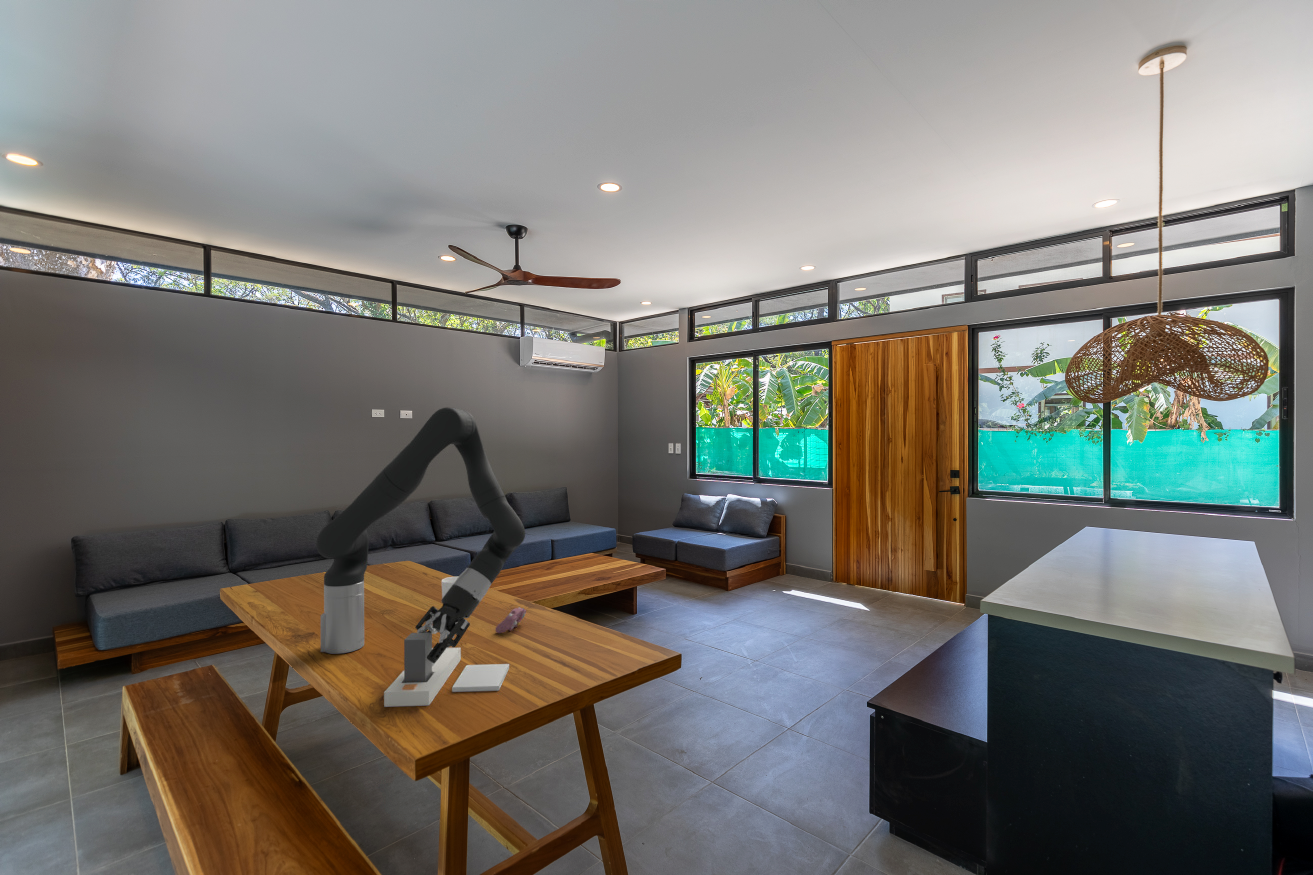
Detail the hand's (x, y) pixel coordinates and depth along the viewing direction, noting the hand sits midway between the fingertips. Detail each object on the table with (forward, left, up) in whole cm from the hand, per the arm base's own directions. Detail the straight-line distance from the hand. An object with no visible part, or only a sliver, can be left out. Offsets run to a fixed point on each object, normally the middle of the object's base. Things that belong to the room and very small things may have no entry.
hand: (420, 655), depth 126 cm
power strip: (0, +5, -8) cm, 9 cm away
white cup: (-8, +57, -8) cm, 58 cm away
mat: (+12, +5, -8) cm, 15 cm away
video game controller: (+13, +39, -8) cm, 42 cm away
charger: (0, 0, -8) cm, 8 cm away
